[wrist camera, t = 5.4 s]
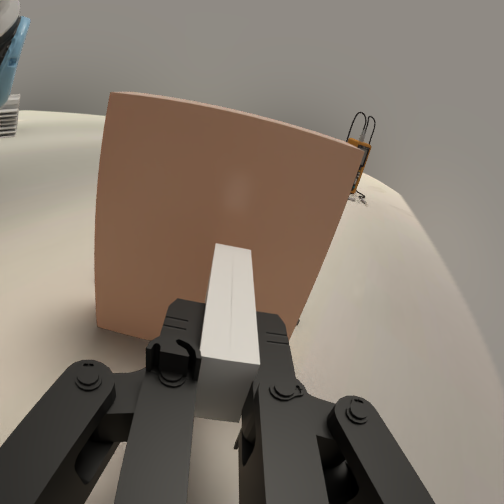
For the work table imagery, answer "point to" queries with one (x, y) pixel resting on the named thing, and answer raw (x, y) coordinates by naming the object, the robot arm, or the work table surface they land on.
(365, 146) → the multimeter
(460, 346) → the work table surface
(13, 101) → the aluminum extrusion profile
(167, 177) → the tile
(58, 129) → the work table surface
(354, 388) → the work table surface
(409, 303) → the work table surface
